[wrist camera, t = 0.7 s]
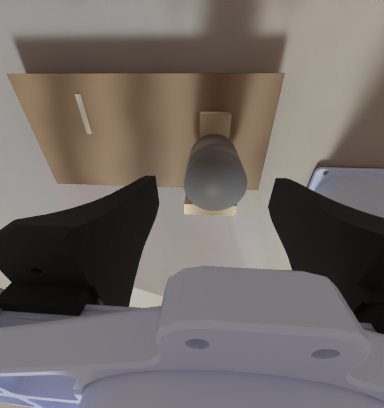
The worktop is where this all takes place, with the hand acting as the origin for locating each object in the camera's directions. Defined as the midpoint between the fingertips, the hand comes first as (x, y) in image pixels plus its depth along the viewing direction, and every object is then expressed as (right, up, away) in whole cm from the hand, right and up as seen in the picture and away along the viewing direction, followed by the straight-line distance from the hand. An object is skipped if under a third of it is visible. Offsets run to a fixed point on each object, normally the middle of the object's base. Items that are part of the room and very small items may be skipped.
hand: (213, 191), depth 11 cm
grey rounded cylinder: (+1, +4, +8) cm, 9 cm away
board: (-5, +6, +7) cm, 11 cm away
